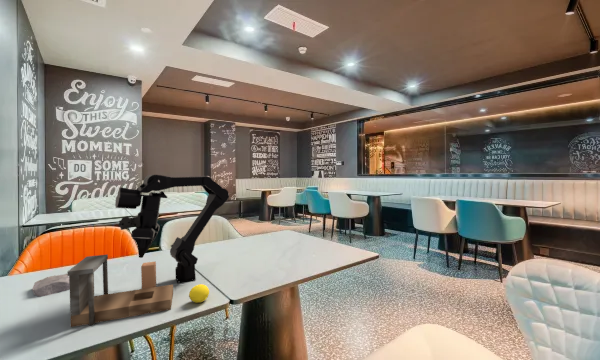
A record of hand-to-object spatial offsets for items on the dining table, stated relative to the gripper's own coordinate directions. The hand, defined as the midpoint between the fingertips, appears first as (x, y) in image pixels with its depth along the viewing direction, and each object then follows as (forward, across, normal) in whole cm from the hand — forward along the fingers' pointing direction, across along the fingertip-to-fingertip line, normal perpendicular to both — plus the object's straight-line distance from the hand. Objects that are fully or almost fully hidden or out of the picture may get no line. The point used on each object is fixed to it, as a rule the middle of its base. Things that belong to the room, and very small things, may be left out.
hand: (143, 254), depth 95 cm
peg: (+12, -1, +4) cm, 13 cm away
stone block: (+17, -15, -29) cm, 36 cm away
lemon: (+11, +16, +20) cm, 28 cm away
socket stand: (+13, +12, 0) cm, 18 cm away
